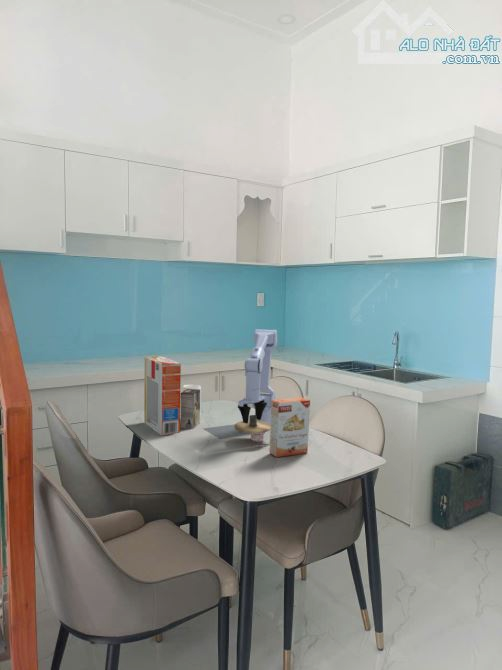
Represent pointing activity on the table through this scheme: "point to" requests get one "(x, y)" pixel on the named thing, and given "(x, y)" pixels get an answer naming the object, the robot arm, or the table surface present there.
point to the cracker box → (289, 426)
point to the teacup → (258, 438)
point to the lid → (253, 426)
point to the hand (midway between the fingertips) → (252, 421)
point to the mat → (225, 431)
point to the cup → (196, 387)
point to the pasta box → (162, 395)
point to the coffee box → (190, 408)
